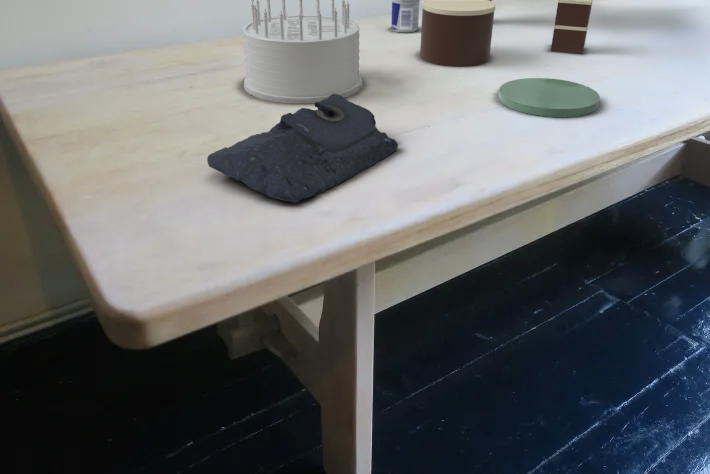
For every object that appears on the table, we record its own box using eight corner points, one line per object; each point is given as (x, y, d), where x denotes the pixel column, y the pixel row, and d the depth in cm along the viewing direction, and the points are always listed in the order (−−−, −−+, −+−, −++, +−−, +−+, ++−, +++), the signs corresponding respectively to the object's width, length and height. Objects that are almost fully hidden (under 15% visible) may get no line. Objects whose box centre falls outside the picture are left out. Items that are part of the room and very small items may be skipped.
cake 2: (495, 51, 119) (501, -1, 114) (482, 69, 109) (488, 13, 104) (429, 45, 123) (432, -6, 118) (410, 62, 113) (413, 7, 108)
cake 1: (366, 102, 95) (367, 5, 88) (239, 104, 94) (231, 6, 87) (357, 66, 110) (358, -18, 103) (248, 68, 109) (241, -17, 102)
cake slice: (584, 48, 121) (593, -3, 116) (582, 54, 118) (591, 1, 113) (553, 45, 122) (560, -6, 118) (550, 51, 119) (558, -1, 115)
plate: (601, 91, 99) (602, 83, 99) (595, 122, 88) (597, 114, 87) (507, 81, 104) (508, 73, 103) (490, 109, 92) (491, 101, 92)
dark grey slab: (186, 174, 73) (181, 134, 71) (311, 118, 89) (310, 83, 86) (292, 213, 66) (290, 169, 63) (409, 144, 81) (410, 107, 79)
